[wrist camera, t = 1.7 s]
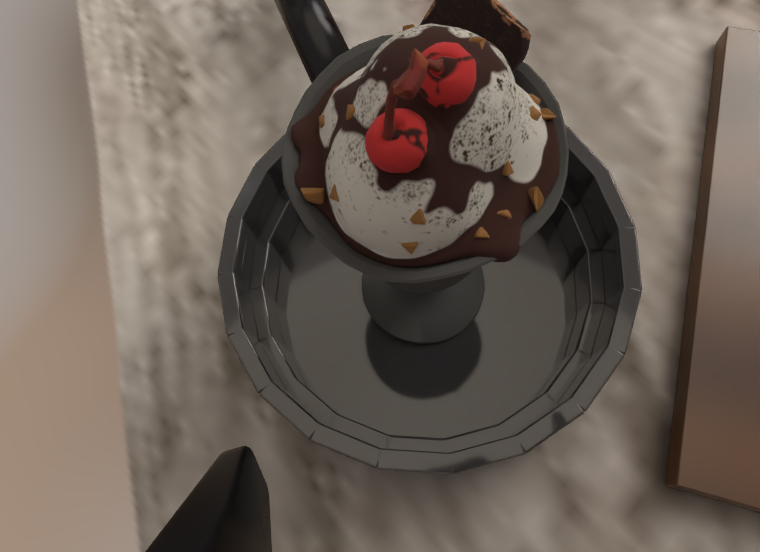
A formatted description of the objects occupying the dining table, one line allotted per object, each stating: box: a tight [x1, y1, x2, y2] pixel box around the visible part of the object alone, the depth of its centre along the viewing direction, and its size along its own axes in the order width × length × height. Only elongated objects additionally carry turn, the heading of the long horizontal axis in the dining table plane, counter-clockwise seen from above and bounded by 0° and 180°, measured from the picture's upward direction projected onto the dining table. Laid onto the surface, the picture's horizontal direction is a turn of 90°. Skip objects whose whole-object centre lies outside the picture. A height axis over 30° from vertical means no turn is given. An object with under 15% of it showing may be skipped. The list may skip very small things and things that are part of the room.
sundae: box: [281, 0, 569, 344], centre depth 15 cm, size 7×7×15 cm
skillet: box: [218, 125, 642, 474], centre depth 21 cm, size 14×14×4 cm
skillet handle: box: [274, 0, 349, 83], centre depth 24 cm, size 12×2×2 cm, turn 22°
